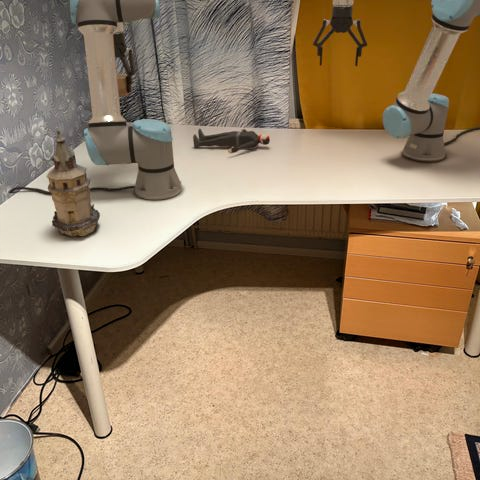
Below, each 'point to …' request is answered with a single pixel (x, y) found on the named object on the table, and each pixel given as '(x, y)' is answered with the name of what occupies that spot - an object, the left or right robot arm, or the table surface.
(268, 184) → the table surface
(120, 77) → the brick
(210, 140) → the toy
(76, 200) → the miniature building
